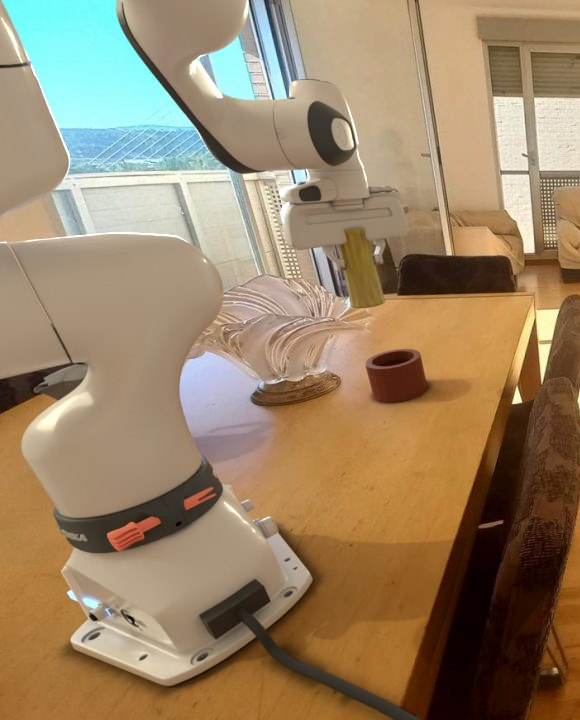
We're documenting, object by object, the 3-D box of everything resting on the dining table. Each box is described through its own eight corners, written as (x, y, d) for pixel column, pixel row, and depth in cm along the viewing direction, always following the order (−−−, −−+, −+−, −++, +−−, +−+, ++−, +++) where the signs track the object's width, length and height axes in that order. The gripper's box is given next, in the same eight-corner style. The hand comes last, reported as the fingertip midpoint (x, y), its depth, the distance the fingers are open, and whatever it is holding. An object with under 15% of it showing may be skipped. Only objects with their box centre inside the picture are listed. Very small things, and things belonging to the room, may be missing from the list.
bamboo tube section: (376, 308, 88) (358, 229, 83) (344, 309, 88) (323, 230, 83) (391, 299, 94) (374, 225, 88) (360, 300, 94) (342, 226, 88)
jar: (437, 385, 102) (431, 353, 99) (396, 406, 93) (388, 372, 91) (404, 377, 106) (397, 346, 103) (362, 396, 98) (353, 363, 95)
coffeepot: (105, 473, 75) (48, 371, 68) (58, 469, 77) (-3, 368, 70) (198, 423, 89) (159, 334, 82) (156, 421, 91) (114, 333, 84)
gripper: (391, 184, 92) (406, 256, 97) (268, 191, 78) (293, 274, 83) (406, 185, 88) (420, 259, 93) (279, 193, 74) (304, 280, 79)
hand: (359, 267), depth 88 cm, fingers closed on bamboo tube section, 5 cm apart
